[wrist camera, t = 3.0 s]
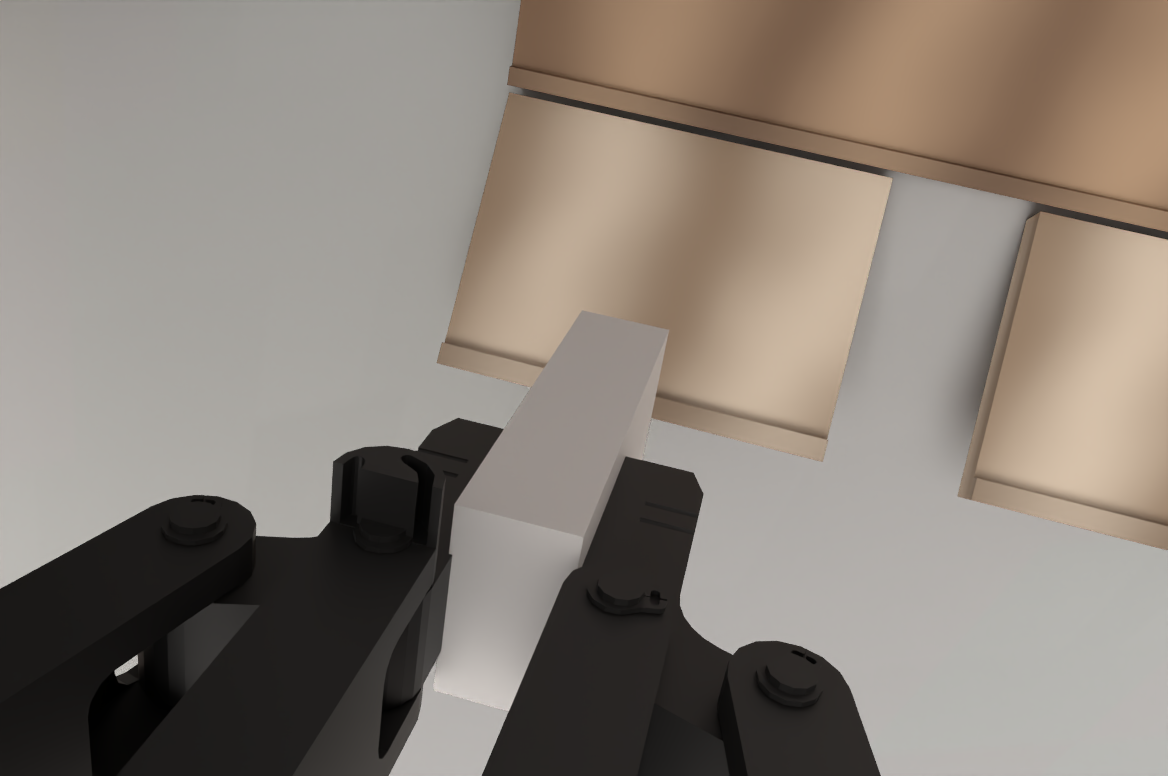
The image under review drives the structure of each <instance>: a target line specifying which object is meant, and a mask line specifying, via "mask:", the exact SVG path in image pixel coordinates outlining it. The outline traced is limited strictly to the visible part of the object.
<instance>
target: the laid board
mask: <svg viewBox="0 0 1168 776" xmlns="http://www.w3.org/2000/svg"><path fill="white" fill-rule="evenodd" d="M507 85H511V86H515V87H520V88H524V89H529V90H533V91H538V92H542V93H547V94H551V95H556V96H560V97H565V98H569V99H574V100H578V101H583V102H587V103H592V104H596V105H601V106H605V107H610V108H614V109H619V110H623V111H628V112H632V113H637V114H641V115H646V116H650V117H655V118H659V119H664V120H668V121H672V122H677V123H681V124H686V125H690V126H695V127H699V128H704V129H708V130H713V131H717V132H722V133H726V134H731V135H735V136H740V137H744V138H749V139H753V140H758V141H762V142H767V143H771V144H776V145H780V146H785V147H789V148H794V149H798V150H803V151H807V152H812V153H816V154H820V155H825V156H829V157H834V158H838V159H843V160H847V161H852V162H856V163H861V164H865V165H870V166H874V167H879V168H883V169H888V170H892V171H897V172H901V173H906V174H910V175H915V176H919V177H924V178H928V179H933V180H937V181H942V182H946V183H951V184H955V185H960V186H964V187H969V188H973V189H977V190H982V191H986V192H991V193H995V194H1000V195H1004V196H1009V197H1013V198H1018V199H1022V200H1027V201H1031V202H1036V203H1040V204H1045V205H1049V206H1054V207H1058V208H1063V209H1067V210H1072V211H1076V212H1081V213H1085V214H1090V215H1094V216H1099V217H1103V218H1108V219H1112V220H1117V221H1121V222H1126V223H1130V224H1134V225H1139V226H1143V227H1148V228H1152V229H1157V230H1161V231H1166V232H1168V0H521V5H520V12H519V19H518V27H517V34H516V41H515V49H514V56H513V63H512V66H510V69H509V76H508V83H507Z"/></svg>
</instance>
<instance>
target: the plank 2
mask: <svg viewBox="0 0 1168 776" xmlns="http://www.w3.org/2000/svg"><path fill="white" fill-rule="evenodd" d="M958 497H961V498H965V499H969V500H973V501H977V502H981V503H985V504H989V505H993V506H997V507H1001V508H1004V509H1008V510H1012V511H1016V512H1020V513H1024V514H1028V515H1032V516H1036V517H1040V518H1043V519H1047V520H1051V521H1055V522H1059V523H1063V524H1067V525H1071V526H1075V527H1079V528H1083V529H1086V530H1090V531H1094V532H1098V533H1102V534H1106V535H1110V536H1114V537H1118V538H1122V539H1125V540H1129V541H1133V542H1137V543H1141V544H1145V545H1149V546H1153V547H1157V548H1161V549H1164V550H1168V240H1166V239H1162V238H1157V237H1153V236H1149V235H1144V234H1140V233H1135V232H1131V231H1126V230H1122V229H1117V228H1113V227H1108V226H1104V225H1099V224H1095V223H1090V222H1086V221H1081V220H1077V219H1073V218H1068V217H1064V216H1059V215H1055V214H1050V213H1046V212H1041V211H1040V212H1039V213H1037V214H1036V215H1034V216H1033V217H1031V218H1029V219H1028V220H1026V224H1025V228H1024V232H1023V236H1022V240H1021V244H1020V248H1019V252H1018V256H1017V260H1016V264H1015V268H1014V272H1013V276H1012V280H1011V284H1010V288H1009V292H1008V296H1007V300H1006V304H1005V308H1004V312H1003V316H1002V320H1001V324H1000V328H999V332H998V336H997V340H996V344H995V348H994V352H993V356H992V360H991V364H990V368H989V372H988V376H987V380H986V384H985V388H984V392H983V396H982V400H981V404H980V408H979V412H978V416H977V420H976V424H975V428H974V432H973V436H972V440H971V444H970V448H969V452H968V456H967V460H966V464H965V468H964V472H963V476H962V480H961V484H960V488H959V492H958Z"/></svg>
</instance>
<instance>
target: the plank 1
mask: <svg viewBox="0 0 1168 776" xmlns="http://www.w3.org/2000/svg"><path fill="white" fill-rule="evenodd" d="M892 180H893V178H889V177H885V176H880V175H876V174H871V173H867V172H863V171H858V170H854V169H849V168H845V167H840V166H836V165H831V164H827V163H822V162H818V161H813V160H809V159H804V158H800V157H795V156H791V155H787V154H782V153H778V152H773V151H769V150H764V149H760V148H755V147H751V146H746V145H742V144H737V143H733V142H728V141H724V140H719V139H715V138H711V137H706V136H702V135H697V134H693V133H688V132H684V131H679V130H675V129H670V128H666V127H661V126H657V125H652V124H648V123H644V122H639V121H635V120H630V119H626V118H621V117H617V116H612V115H608V114H603V113H599V112H594V111H590V110H585V109H581V108H576V107H572V106H568V105H563V104H559V103H554V102H550V101H545V100H541V99H536V98H532V97H527V96H523V95H518V94H514V93H509V96H508V100H507V104H506V108H505V111H504V115H503V119H502V123H501V127H500V131H499V135H498V138H497V142H496V146H495V150H494V154H493V158H492V162H491V166H490V169H489V173H488V177H487V181H486V185H485V189H484V193H483V196H482V200H481V204H480V208H479V212H478V216H477V220H476V223H475V227H474V231H473V235H472V239H471V243H470V247H469V251H468V254H467V258H466V262H465V266H464V270H463V274H462V278H461V281H460V285H459V289H458V293H457V297H456V301H455V305H454V308H453V312H452V316H451V320H450V324H449V328H448V332H447V335H446V339H445V343H443V342H442V344H441V348H440V352H439V356H438V360H437V363H439V364H443V365H446V366H450V367H454V368H458V369H462V370H466V371H470V372H474V373H477V374H481V375H485V376H489V377H493V378H497V379H501V380H505V381H509V382H513V383H516V384H520V385H524V386H528V387H532V386H533V384H534V383H535V381H536V380H537V378H538V377H539V375H540V374H541V372H542V371H543V369H544V368H545V366H546V364H547V363H548V361H549V360H550V358H551V357H552V355H553V354H554V352H555V351H556V349H557V348H558V346H559V345H560V343H561V342H562V340H563V339H564V337H565V336H566V334H567V333H568V331H569V330H570V328H571V326H572V325H573V323H574V322H575V320H576V319H577V317H578V316H579V314H580V313H581V311H582V310H583V311H588V312H592V313H597V314H601V315H605V316H610V317H614V318H619V319H623V320H628V321H632V322H636V323H641V324H645V325H650V326H654V327H658V328H663V329H667V330H669V333H668V338H667V343H666V347H665V352H664V357H663V362H662V367H661V372H660V377H659V382H658V387H657V392H656V397H655V402H654V406H653V411H652V416H651V418H653V419H657V420H661V421H665V422H669V423H673V424H677V425H680V426H684V427H688V428H692V429H696V430H700V431H704V432H708V433H712V434H716V435H719V436H723V437H727V438H731V439H735V440H739V441H743V442H747V443H751V444H755V445H759V446H762V447H766V448H770V449H774V450H778V451H782V452H786V453H790V454H794V455H798V456H801V457H805V458H809V459H813V460H817V461H822V462H823V458H824V455H825V451H826V447H827V443H828V440H827V437H828V433H829V429H830V425H831V421H832V417H833V413H834V409H835V405H836V401H837V397H838V393H839V389H840V386H841V382H842V378H843V374H844V370H845V366H846V362H847V358H848V354H849V350H850V346H851V342H852V338H853V334H854V330H855V326H856V322H857V318H858V314H859V310H860V306H861V302H862V298H863V295H864V291H865V287H866V283H867V279H868V275H869V271H870V267H871V263H872V259H873V255H874V251H875V247H876V243H877V239H878V235H879V231H880V227H881V223H882V219H883V215H884V211H885V207H886V204H887V200H888V196H889V192H890V188H891V184H892Z"/></svg>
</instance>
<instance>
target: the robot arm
mask: <svg viewBox="0 0 1168 776" xmlns="http://www.w3.org/2000/svg"><path fill="white" fill-rule="evenodd" d="M668 333H669V330H667V329H663V328H658V327H654V326H650V325H645V324H641V323H636V322H632V321H628V320H623V319H619V318H614V317H610V316H605V315H601V314H597V313H592V312H588V311H583V310H582V311H581V313H580V314H579V316H578V317H577V319H576V320H575V322H574V323H573V325H572V326H571V328H570V330H569V331H568V333H567V334H566V336H565V337H564V339H563V340H562V342H561V343H560V345H559V346H558V348H557V349H556V351H555V352H554V354H553V355H552V357H551V358H550V360H549V361H548V363H547V364H546V366H545V368H544V369H543V371H542V372H541V374H540V375H539V377H538V378H537V380H536V381H535V383H534V384H533V386H532V387H531V389H530V390H529V392H528V393H527V395H526V396H525V398H524V399H523V401H522V402H521V404H520V405H519V407H518V409H517V410H516V412H515V413H514V415H513V416H512V418H511V419H510V421H509V422H508V424H507V425H506V427H505V428H504V429H501V428H497V427H493V426H489V425H485V424H481V423H477V422H472V421H468V420H464V419H460V418H457V419H455V420H453V421H451V422H448V423H446V424H444V425H442V426H440V427H438V428H436V429H433V430H432V431H431V432H430V434H429V435H428V436H427V437H426V439H425V440H424V441H423V442H422V444H421V445H420V446H419V448H418V451H413V450H410V449H405V448H398V447H391V446H377V447H364V448H361V449H357V450H354V451H350V452H347V453H345V454H344V455H342V456H341V457H339V458H338V459H336V460H335V461H333V478H332V496H331V514H330V522H329V523H328V525H327V526H326V527H325V528H324V529H323V531H322V532H321V533H320V534H319V535H318V537H311V538H286V537H266V536H256V522H255V520H254V518H253V516H252V514H251V512H250V511H249V510H248V509H246V508H245V507H243V506H242V505H240V504H239V503H237V502H235V501H231V500H228V499H224V498H221V497H218V496H204V495H193V496H186V497H179V498H172V499H169V500H167V501H164V502H162V503H159V504H156V505H154V506H151V507H149V508H148V509H146V510H144V511H142V512H140V513H138V514H137V515H135V516H133V517H131V518H129V519H127V520H126V521H124V522H122V523H120V524H118V525H116V526H115V527H113V528H111V529H109V530H107V531H105V532H104V533H102V534H100V535H98V536H96V537H94V538H93V539H91V540H89V541H87V542H85V543H83V544H82V545H80V546H78V547H76V548H74V549H73V550H71V551H69V552H67V553H65V554H63V555H62V556H60V557H58V558H56V559H54V560H52V561H51V562H49V563H47V564H45V565H43V566H41V567H40V568H38V569H36V570H34V571H32V572H30V573H29V574H27V575H25V576H23V577H21V578H19V579H18V580H16V581H14V582H12V583H10V584H8V585H7V586H5V587H3V588H1V589H0V776H389V774H390V772H391V770H392V768H393V766H394V764H395V762H396V760H397V758H398V756H399V755H400V753H401V751H402V749H403V747H404V745H405V743H406V741H407V739H408V737H409V735H410V733H411V732H412V730H413V728H414V726H415V724H416V722H417V720H418V716H419V712H420V707H421V700H422V691H423V683H424V682H425V680H426V678H427V676H428V674H429V672H430V670H431V669H432V667H433V665H434V663H435V661H436V659H437V661H436V669H435V678H434V687H433V690H434V691H437V692H441V693H445V694H448V695H452V696H455V697H459V698H462V699H466V700H469V701H473V702H476V703H480V704H484V705H487V706H491V707H494V708H498V709H501V710H505V711H508V715H507V717H506V719H505V722H504V724H503V727H502V729H501V731H500V734H499V736H498V738H497V741H496V743H495V746H494V748H493V750H492V753H491V755H490V757H489V760H488V762H487V765H486V767H485V769H484V772H483V774H482V776H881V775H880V772H879V770H878V767H877V764H876V761H875V758H874V755H873V753H872V750H871V747H870V744H869V741H868V738H867V735H866V733H865V730H864V727H863V724H862V721H861V718H860V716H859V713H858V710H857V707H856V704H855V701H854V698H853V696H852V693H851V690H850V688H849V686H848V685H847V683H846V681H845V680H844V678H843V676H842V675H841V673H840V672H839V671H838V670H837V669H836V668H834V667H833V666H832V665H831V664H830V663H829V662H827V661H826V660H825V659H824V658H823V657H821V656H819V655H817V654H815V653H813V652H811V651H809V650H807V649H805V648H803V647H801V646H796V645H792V644H788V643H784V642H780V641H758V642H754V643H751V644H748V645H746V646H743V647H741V648H739V649H738V650H737V651H736V652H735V653H734V655H732V654H730V653H728V652H726V651H724V650H722V649H720V648H718V647H717V646H715V645H713V644H712V643H710V642H709V641H707V640H705V639H704V638H703V637H702V636H700V635H699V634H698V633H697V632H696V631H695V630H694V629H693V628H692V627H691V626H690V624H689V623H688V622H687V620H686V619H685V617H684V616H683V613H682V610H681V607H680V592H681V588H682V584H683V580H684V575H685V571H686V567H687V562H688V558H689V554H690V550H691V545H692V541H693V537H694V532H695V528H696V524H697V520H698V515H699V511H700V507H701V503H702V498H703V492H702V490H701V488H700V486H699V484H698V482H697V479H696V477H695V475H694V473H692V472H688V471H684V470H680V469H676V468H672V467H668V466H663V465H659V464H655V463H651V462H647V461H643V456H644V451H645V446H646V441H647V436H648V431H649V426H650V421H651V416H652V411H653V406H654V402H655V397H656V392H657V387H658V382H659V377H660V372H661V367H662V362H663V357H664V352H665V347H666V343H667V338H668ZM137 654H138V664H137V665H136V666H134V667H133V668H132V669H130V670H129V671H127V672H125V673H123V674H121V675H119V676H115V672H114V670H116V669H117V668H118V667H120V666H121V665H123V664H124V663H126V662H127V661H129V660H130V659H132V658H133V657H134V656H136V655H137Z"/></svg>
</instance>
